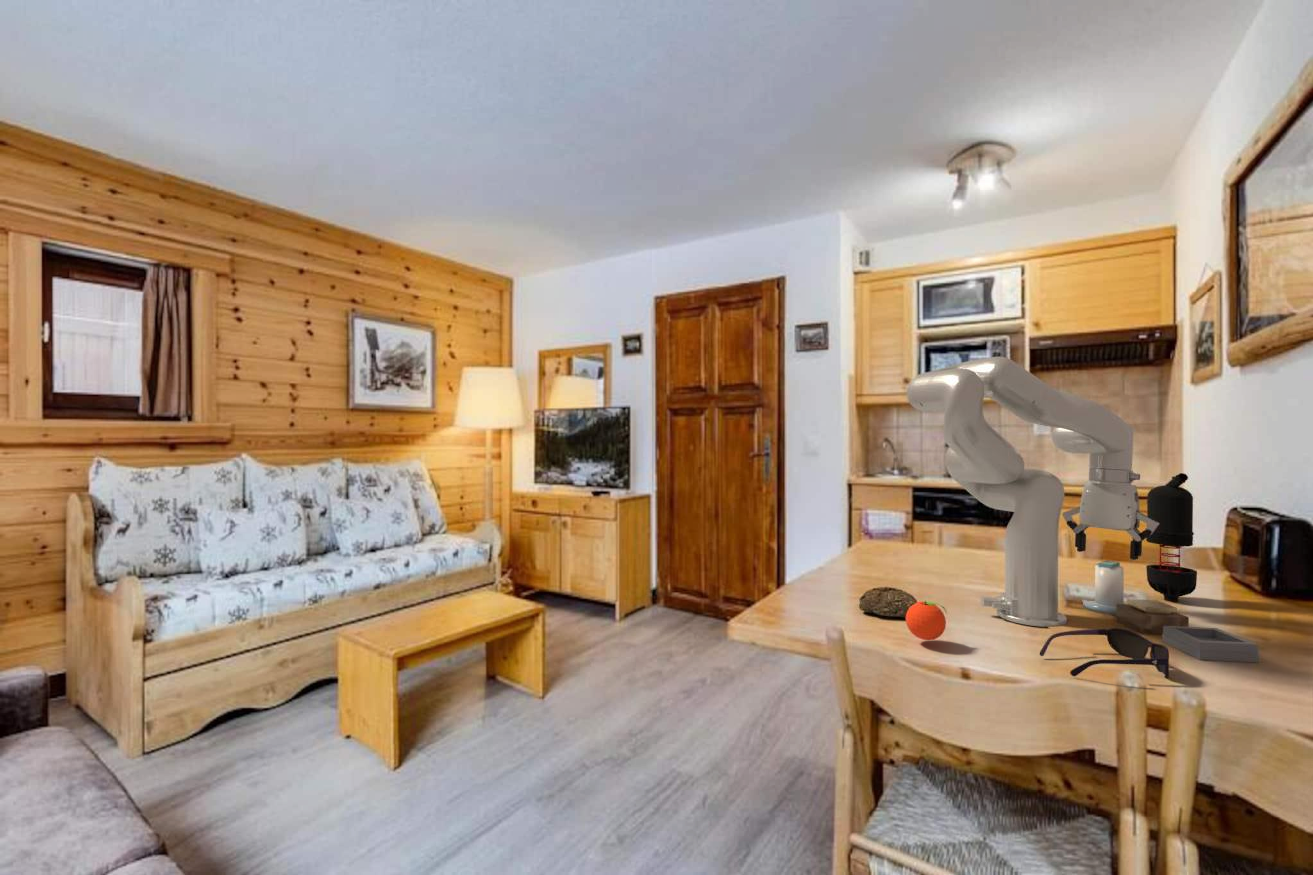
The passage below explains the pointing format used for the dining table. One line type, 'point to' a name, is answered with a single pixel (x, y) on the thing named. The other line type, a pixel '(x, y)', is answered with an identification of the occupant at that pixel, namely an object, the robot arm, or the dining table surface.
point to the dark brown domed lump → (887, 601)
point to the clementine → (926, 620)
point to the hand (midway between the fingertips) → (1106, 554)
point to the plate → (1099, 607)
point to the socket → (1210, 644)
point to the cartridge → (1109, 583)
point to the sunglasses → (1122, 649)
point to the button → (1151, 606)
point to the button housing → (1148, 619)
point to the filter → (1171, 537)
